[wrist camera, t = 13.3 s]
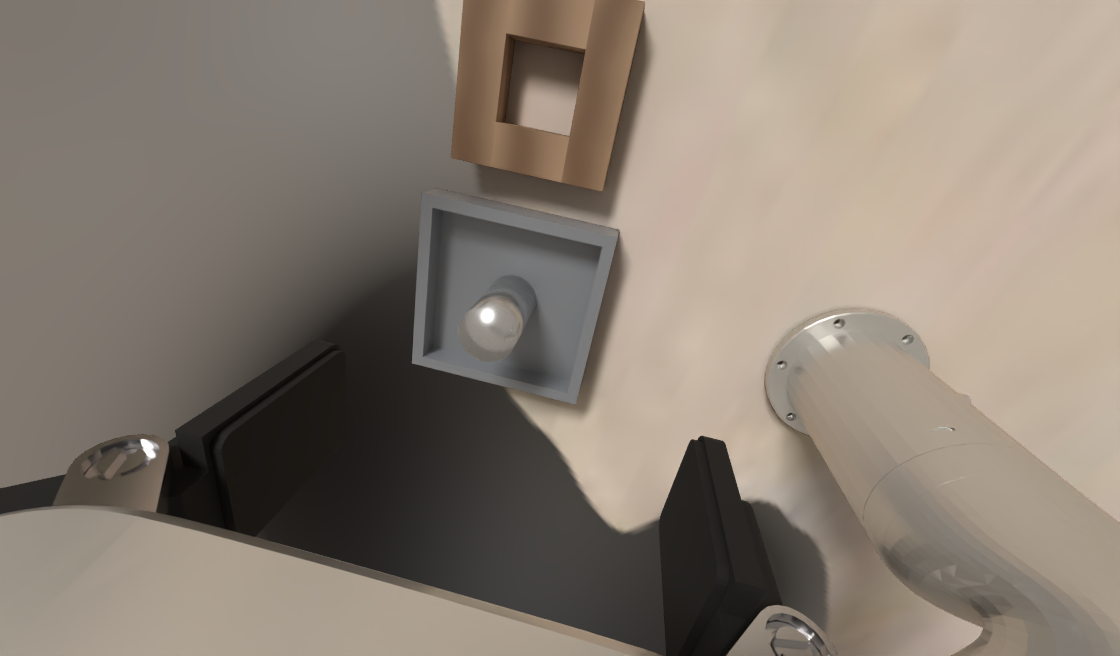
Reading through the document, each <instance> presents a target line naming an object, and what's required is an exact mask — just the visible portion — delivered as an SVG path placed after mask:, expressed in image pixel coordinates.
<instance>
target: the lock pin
mask: <svg viewBox="0 0 1120 656" xmlns="http://www.w3.org/2000/svg"><path fill="white" fill-rule="evenodd" d="M535 306H536V294H535V291H534V289H533V288H532V286H531V285H530V284H529V283H528V282H527V281H526V280H524V279H523V278H521V277H518V276H513V275H507V276H503V277H500V278H499V279H497V280H496V281H495V282H494V283H493V284H492V285H491V286H490V287H489V289H488V290H487V291H486V292H485V293H484V294H483V295H482V296H481V298H480V299H479V300H478V301H477V302H476V303H475V304H474V305H473V306H472V308H471V309H470V310H469V311H468V312H467V313H466V314H465V315H464V317H463V318H462V319H461V321H460V323H459V327H458V336H459V340H460V343H461V345H462V346H463V348H464V349H465V350H466V351H467V352H468V353H469V354H470V355H471V356H473V357H474V358H476V359H478V360H481V361H485V362H496V361H500V360H502V359H504V358H506V357H507V356H508V355H509V354H510V353H511V352H512V350H513V348H514V346H515V345H516V343H517V341H518V339H519V337H520V335H521V333H522V331H523V330H524V328H525V326H526V324H527V322H528V320H529V318H530V317H531V315H532V313H533V311H534V309H535Z"/></svg>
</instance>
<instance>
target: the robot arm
mask: <svg viewBox="0 0 1120 656" xmlns="http://www.w3.org/2000/svg"><path fill="white" fill-rule="evenodd" d="M837 319H838V320H837ZM835 320H837V321H836V322H835ZM779 361H781V362H779ZM765 387H766V392H767V396H768V398H769V401H770V403H771V405H772V407H773V408H774V410H775V412H776V413H777V415H778V416H779V417H780V418H781V419H782V420H783V421H784V422H785V423H786V424H788V425H789V426H790V427H792V428H793V429H795V430H797V431H799V432H801V433H804V434H806V435H809V436H811V438H812V440H813V442H814V443H815V445H816V447H817V448H818V450H819V452H820V454H821V455H822V457H823V459H824V461H825V462H826V464H827V466H828V468H829V469H830V471H831V473H832V475H833V476H834V478H835V480H836V481H837V483H838V485H839V487H840V488H841V490H842V492H843V494H844V495H845V497H846V499H847V501H848V502H849V504H850V506H851V508H852V509H853V511H854V513H855V514H856V516H857V518H858V520H859V521H860V523H861V525H862V527H863V528H864V530H865V532H866V534H867V535H868V537H869V539H870V541H871V542H872V544H873V546H874V548H875V549H876V551H877V553H878V554H879V556H880V558H881V559H882V560H883V562H884V563H885V565H886V566H887V567H888V568H889V570H890V571H891V572H892V573H893V574H894V575H895V577H896V578H897V579H899V580H900V581H901V582H902V583H903V584H904V585H905V586H906V587H908V588H909V589H910V590H911V591H912V592H914V593H915V594H917V595H918V596H920V597H921V598H923V599H924V600H926V601H928V602H929V603H931V604H933V605H934V606H936V607H938V608H940V609H942V610H944V611H946V612H948V613H950V614H952V615H954V616H956V617H959V618H961V619H963V620H966V621H968V622H970V623H973V624H975V625H977V626H980V627H982V628H983V631H982V633H981V635H980V636H979V637H978V638H977V639H976V640H975V641H974V642H973V643H971V644H970V645H968V646H967V647H965V648H963V649H962V650H960V651H959V652H957V653H955V654H953V655H951V656H1120V522H1118V521H1117V520H1116V519H1114V518H1113V517H1112V516H1110V515H1109V514H1108V513H1106V512H1105V511H1104V510H1103V509H1101V508H1100V507H1099V506H1097V505H1096V504H1095V503H1094V502H1092V501H1091V500H1090V499H1088V498H1087V497H1086V496H1085V495H1083V494H1082V493H1081V492H1079V491H1078V490H1077V489H1076V488H1074V487H1073V486H1072V485H1071V484H1069V483H1068V482H1067V481H1066V480H1065V479H1063V478H1062V477H1061V476H1060V475H1058V474H1057V473H1056V472H1055V471H1053V470H1052V469H1051V468H1050V467H1048V466H1047V465H1046V464H1045V463H1043V462H1042V461H1041V460H1040V459H1038V458H1037V457H1036V456H1035V455H1033V454H1032V453H1031V452H1030V451H1029V450H1027V449H1026V448H1025V447H1024V446H1022V445H1021V444H1020V443H1019V442H1017V441H1016V440H1015V439H1014V438H1012V437H1011V436H1010V435H1009V434H1008V433H1006V432H1005V431H1004V430H1003V429H1001V428H1000V427H999V426H998V425H996V424H995V423H994V422H993V421H992V420H990V419H989V418H988V417H987V416H985V415H984V414H983V413H982V412H980V411H979V410H978V409H977V408H976V407H974V406H973V405H972V404H971V399H970V397H969V396H968V395H965V394H961V393H957V392H956V391H955V390H953V389H952V388H951V387H950V386H948V385H947V384H946V383H945V382H943V381H942V380H941V379H940V378H939V377H937V376H936V375H935V374H934V373H932V372H931V371H930V360H929V355H928V352H927V349H926V346H925V344H924V343H923V341H922V340H921V338H920V337H919V335H918V334H917V333H916V332H915V331H913V330H912V329H911V328H910V327H909V326H908V325H906V324H905V323H903V322H902V321H900V320H899V319H897V318H895V317H893V316H891V315H888V314H886V313H883V312H879V311H875V310H870V309H855V308H853V309H844V310H836V311H833V312H829V313H825V314H822V315H819V316H817V317H815V318H812V319H810V320H808V321H806V322H805V323H803V324H801V325H800V326H798V327H797V328H795V329H794V330H793V331H791V332H790V333H789V334H788V335H787V336H786V337H785V338H784V339H783V340H782V341H781V342H780V344H779V345H778V346H777V347H776V349H775V350H774V352H773V354H772V356H771V358H770V360H769V362H768V365H767V369H766V373H765ZM346 392H347V389H346V357H345V354H344V352H342V351H341V349H340V347H339V346H338V345H336V344H332V343H328V342H324V341H320V340H314V341H312V342H310V343H309V344H307V345H306V346H304V347H303V348H301V349H300V350H298V351H297V352H295V353H293V354H292V355H290V356H289V357H287V358H286V359H284V360H283V361H281V362H280V363H278V364H276V365H275V366H273V367H272V368H270V369H269V370H267V371H266V372H264V373H263V374H261V375H260V376H258V377H256V378H255V379H253V380H252V381H250V382H249V383H247V384H246V385H244V386H243V387H241V388H239V389H238V390H236V391H235V392H233V393H232V394H230V395H229V396H227V397H225V398H224V399H222V400H221V401H219V402H218V403H216V404H215V405H213V406H212V407H210V408H208V409H207V410H205V411H204V412H202V413H201V414H199V415H198V416H196V417H195V418H193V419H192V420H190V421H188V422H187V423H185V424H184V425H182V426H181V427H179V428H178V429H176V430H175V432H176V437H175V438H173V439H172V440H170V441H169V442H166V440H165V439H163V438H161V437H158V436H156V435H146V434H140V435H139V434H138V435H128V436H124V437H119V438H115V439H112V440H109V441H106V442H104V443H100V444H98V445H96V446H94V447H92V448H90V449H89V450H87V451H85V452H84V453H82V454H81V455H80V456H78V458H76V459H75V460H74V461H73V463H72V464H71V465H70V467H69V469H68V471H67V473H66V474H65V475H60V476H56V477H51V478H47V479H42V480H37V481H33V482H29V483H24V484H19V485H15V486H10V487H6V488H0V656H662V655H659V654H657V653H654V652H651V651H648V650H645V649H642V648H639V647H635V646H632V645H629V644H626V643H623V642H619V641H616V640H613V639H610V638H606V637H603V636H600V635H597V634H593V633H590V632H587V631H584V630H580V629H577V628H574V627H570V626H567V625H563V624H560V623H556V622H553V621H550V620H546V619H543V618H539V617H536V616H532V615H529V614H525V613H522V612H518V611H515V610H512V609H508V608H505V607H501V606H498V605H494V604H491V603H487V602H484V601H480V600H477V599H473V598H470V597H467V596H463V595H459V594H456V593H452V592H449V591H445V590H442V589H438V588H435V587H431V586H428V585H424V584H420V583H417V582H414V581H410V580H407V579H403V578H399V577H396V576H392V575H388V574H385V573H382V572H378V571H374V570H371V569H368V568H364V567H360V566H357V565H353V564H350V563H346V562H343V561H339V560H335V559H332V558H328V557H325V556H321V555H317V554H314V553H310V552H306V551H303V550H299V549H296V548H292V547H288V546H285V545H281V544H278V543H273V542H270V541H267V540H263V539H260V538H256V537H255V536H256V535H257V534H258V533H259V532H260V531H261V530H262V529H263V528H264V527H265V526H266V525H267V524H268V523H269V522H270V521H271V519H272V518H273V517H274V516H275V515H276V514H277V513H278V512H279V511H280V510H281V509H282V508H283V507H284V506H285V504H287V502H288V501H289V500H290V499H291V498H292V497H293V496H294V495H295V494H296V493H297V492H298V491H299V489H301V488H302V487H303V485H304V484H305V483H306V482H307V481H308V480H309V479H310V478H311V477H312V476H313V475H314V474H315V473H316V472H317V471H318V470H319V468H320V467H321V466H322V465H323V464H324V463H325V462H326V461H327V460H328V459H329V458H330V457H331V456H332V455H333V454H334V453H335V451H336V450H337V449H338V448H339V447H340V446H341V445H342V444H343V442H344V441H345V439H346V436H347V432H348V425H347V393H346ZM659 537H660V554H661V570H662V588H663V606H664V622H665V640H666V656H838V654H837V652H836V650H835V647H834V646H833V644H832V643H831V641H830V640H829V638H828V637H827V636H826V634H825V633H824V632H823V631H822V630H821V629H820V628H819V627H818V626H817V625H816V624H815V623H814V622H813V621H812V620H810V619H809V618H807V617H806V616H805V615H803V614H802V613H800V612H798V611H796V610H793V609H792V608H789V607H785V606H783V605H782V602H781V599H780V596H779V592H778V589H777V586H776V583H775V579H774V576H773V573H772V570H771V566H770V564H769V560H768V557H767V553H766V550H765V547H764V544H763V540H762V537H761V534H760V531H759V528H758V524H757V521H756V518H755V515H754V511H753V509H752V507H751V505H750V504H749V503H748V502H746V501H743V500H741V497H740V494H739V490H738V487H737V483H736V480H735V476H734V473H733V469H732V466H731V462H730V459H729V455H728V452H727V448H726V445H725V443H724V442H723V441H721V440H717V439H713V438H709V437H705V436H700V437H699V438H698V440H693V439H692V440H691V441H690V442H689V445H688V447H687V450H686V452H685V455H684V457H683V460H682V462H681V465H680V467H679V470H678V472H677V475H676V477H675V480H674V482H673V485H672V488H671V490H670V493H669V495H668V498H667V500H666V503H665V505H664V508H663V510H662V513H661V516H660V522H659Z"/></svg>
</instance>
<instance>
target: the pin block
mask: <svg viewBox="0 0 1120 656" xmlns="http://www.w3.org/2000/svg"><path fill="white" fill-rule="evenodd" d="M644 7H645V2H644V1H638V0H463V12H462V25H461V37H460V50H459V62H458V75H457V87H456V100H455V113H454V126H453V138H452V151H451V158H454V159H458V160H463V161H467V162H472V163H476V164H481V165H485V166H490V167H494V168H498V169H503V170H507V171H512V172H516V173H521V174H525V175H530V176H534V177H539V178H543V179H548V180H552V181H557V182H561V183H566V184H570V185H575V186H579V187H584V188H588V189H593V190H597V191H603V189H604V186H605V182H606V177H607V173H608V168H609V164H610V160H611V155H612V151H613V146H614V142H615V138H616V133H617V129H618V124H619V120H620V116H621V111H622V107H623V102H624V98H625V94H626V89H627V85H628V80H629V76H630V72H631V67H632V63H633V58H634V54H635V50H636V45H637V41H638V36H639V32H640V28H641V23H642V19H643V14H644ZM515 40H518V41H523V42H528V43H533V44H538V45H542V46H547V47H552V48H557V49H562V50H567V51H572V52H577V53H581V54H585V56H584V62H583V67H582V73H581V78H580V83H579V89H578V94H577V99H576V105H575V110H574V116H573V121H572V126H571V132H570V136H566V135H561V134H556V133H552V132H547V131H543V130H538V129H533V128H529V127H524V126H520V125H515V124H510V123H506V122H505V117H506V109H507V101H508V93H509V85H510V77H511V69H512V61H513V53H514V45H515Z"/></svg>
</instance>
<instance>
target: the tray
mask: <svg viewBox="0 0 1120 656" xmlns="http://www.w3.org/2000/svg"><path fill="white" fill-rule="evenodd" d="M419 228H420V229H419V245H418V264H417V282H416V301H415V320H414V337H413V356H412V363H413V364H417V365H421V366H425V367H429V368H433V369H437V370H441V371H445V372H449V373H452V374H456V375H460V376H465V377H468V378H472V379H476V380H480V381H484V382H488V383H492V384H496V385H500V386H504V387H508V388H512V389H516V390H520V391H524V392H527V393H531V394H535V395H539V396H543V397H547V398H551V399H555V400H559V401H563V402H567V403H571V404H575V405H576V401H577V397H578V393H579V390H580V386H581V382H582V378H583V374H584V370H585V366H586V362H587V358H588V354H589V350H590V346H591V342H592V338H593V334H594V330H595V326H596V322H597V318H598V314H599V310H600V306H601V302H602V298H603V294H604V290H605V286H606V282H607V279H608V275H609V271H610V267H611V263H612V259H613V255H614V251H615V247H616V243H617V239H618V233H619V229H614V228H610V227H606V226H601V225H597V224H592V223H588V222H584V221H579V220H575V219H570V218H566V217H562V216H557V215H553V214H549V213H544V212H540V211H535V210H531V209H527V208H522V207H518V206H513V205H509V204H505V203H500V202H496V201H491V200H487V199H483V198H478V197H474V196H470V195H465V194H461V193H456V192H451V191H448V190H443V189H439V188H435V189H431V190H428V191H425V192H422V193H421V208H420V227H419ZM507 275H513V276H518V277H521V278H523V279H524V280H526V281H527V282H528V283H529V284H530V285H531V286H532V288H533V289H534V291H535V294H536V306H535V309H534V311H533V313H532V315H531V317H530V318H529V320H528V322H527V324H526V326H525V328H524V330H523V331H522V333H521V335H520V337H519V339H518V341H517V343H516V345H515V346H514V348H513V350H512V352H511V353H510V354H509V355H508V356H507V357H506V358H504V359H502V360H500V361H496V362H485V361H481V360H478V359H476V358H474V357H473V356H471V355H470V354H469V353H468V352H467V351H466V350H465V349H464V348H463V346H462V345H461V343H460V340H459V336H458V327H459V323H460V321H461V319H462V318H463V317H464V315H465V314H466V313H467V312H468V311H469V310H470V309H471V308H472V306H473V305H474V304H475V303H476V302H477V301H478V300H479V299H480V298H481V296H482V295H483V294H484V293H485V292H486V291H487V290H488V289H489V287H490V286H491V285H492V284H493V283H494V282H495V281H496V280H497V279H499V278H500V277H503V276H507Z"/></svg>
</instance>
